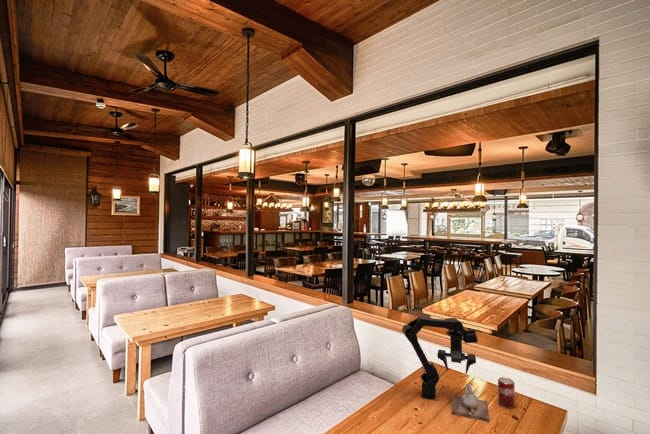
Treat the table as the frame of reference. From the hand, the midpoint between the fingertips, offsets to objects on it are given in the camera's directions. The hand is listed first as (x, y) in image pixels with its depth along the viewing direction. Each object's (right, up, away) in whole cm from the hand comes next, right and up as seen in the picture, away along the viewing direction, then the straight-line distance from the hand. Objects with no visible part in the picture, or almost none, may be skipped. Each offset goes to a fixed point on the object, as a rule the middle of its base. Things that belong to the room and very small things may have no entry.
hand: (456, 372), depth 169 cm
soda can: (+21, -12, -9) cm, 26 cm away
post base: (+1, -12, -13) cm, 17 cm away
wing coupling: (+1, -10, -13) cm, 16 cm away
